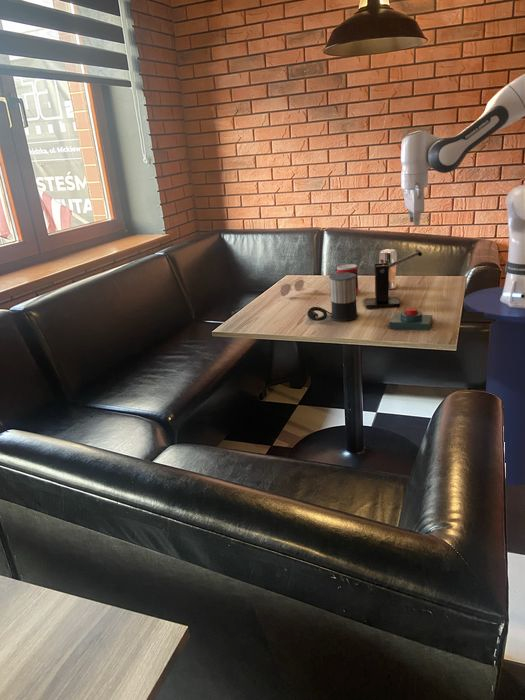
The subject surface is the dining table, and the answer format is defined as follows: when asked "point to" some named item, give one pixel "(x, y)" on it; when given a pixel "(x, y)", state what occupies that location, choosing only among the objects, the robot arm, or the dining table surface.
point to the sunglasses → (286, 288)
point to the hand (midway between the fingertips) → (414, 223)
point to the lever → (405, 258)
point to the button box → (411, 321)
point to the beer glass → (388, 257)
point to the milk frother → (339, 299)
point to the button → (411, 311)
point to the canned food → (349, 271)
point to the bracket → (381, 289)
